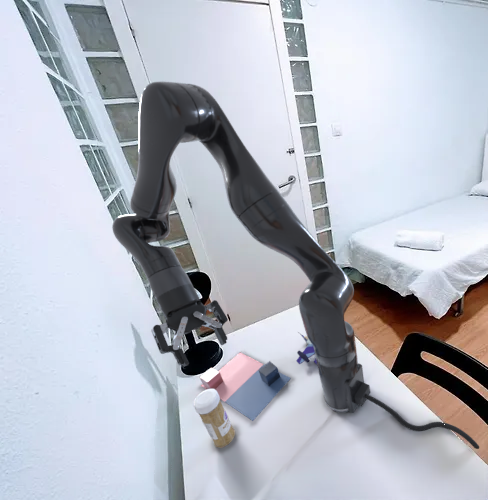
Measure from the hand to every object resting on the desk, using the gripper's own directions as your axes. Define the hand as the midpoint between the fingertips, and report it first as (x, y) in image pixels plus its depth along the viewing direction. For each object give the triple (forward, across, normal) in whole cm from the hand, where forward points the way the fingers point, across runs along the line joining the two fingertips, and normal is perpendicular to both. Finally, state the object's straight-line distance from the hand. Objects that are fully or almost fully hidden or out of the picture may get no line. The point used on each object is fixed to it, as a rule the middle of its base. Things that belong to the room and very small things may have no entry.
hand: (206, 354), depth 62 cm
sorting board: (+12, +8, +10) cm, 18 cm away
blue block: (+14, +13, +5) cm, 20 cm away
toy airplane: (+15, +26, +2) cm, 30 cm away
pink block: (+8, +3, +16) cm, 18 cm away
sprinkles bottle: (+18, -3, +4) cm, 19 cm away
